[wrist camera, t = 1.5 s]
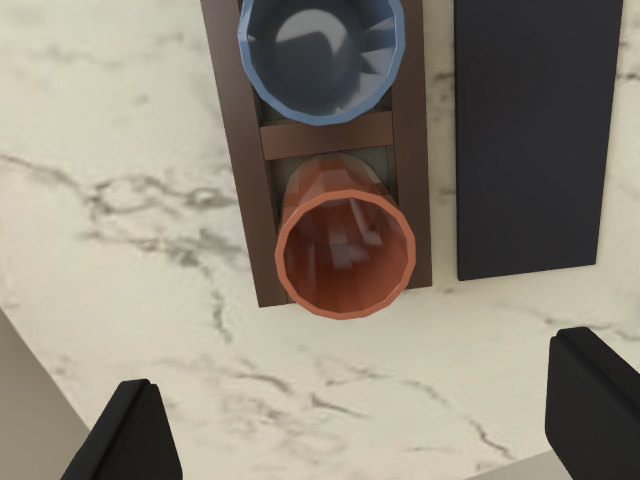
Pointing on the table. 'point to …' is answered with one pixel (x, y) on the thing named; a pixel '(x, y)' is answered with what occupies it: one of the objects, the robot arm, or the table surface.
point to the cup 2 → (342, 239)
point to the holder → (319, 144)
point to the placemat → (531, 131)
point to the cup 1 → (321, 55)
